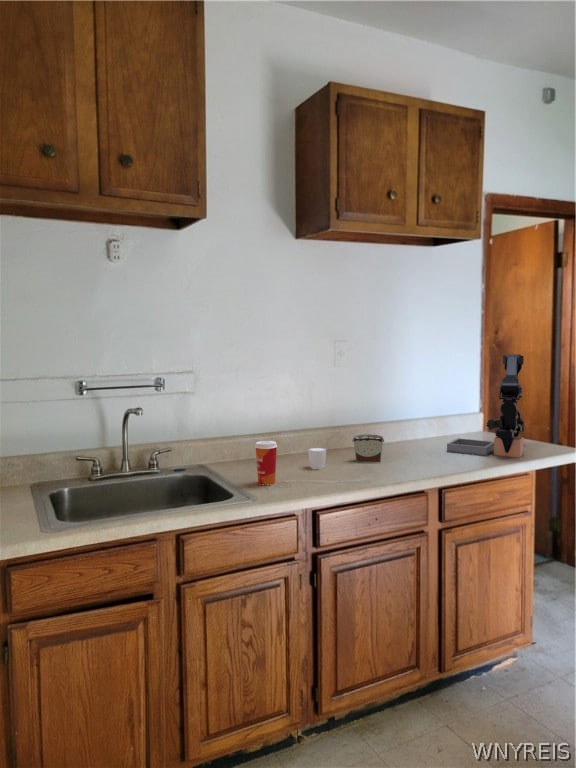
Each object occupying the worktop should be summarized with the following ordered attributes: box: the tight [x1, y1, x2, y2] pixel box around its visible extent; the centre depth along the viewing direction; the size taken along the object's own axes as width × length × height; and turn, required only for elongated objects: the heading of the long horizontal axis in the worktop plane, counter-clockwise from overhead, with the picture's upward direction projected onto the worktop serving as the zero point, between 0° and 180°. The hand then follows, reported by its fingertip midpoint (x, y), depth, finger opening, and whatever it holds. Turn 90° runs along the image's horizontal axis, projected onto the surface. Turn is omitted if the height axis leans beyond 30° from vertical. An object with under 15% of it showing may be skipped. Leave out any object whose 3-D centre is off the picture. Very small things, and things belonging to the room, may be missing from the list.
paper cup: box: [254, 440, 278, 485], centre depth 193 cm, size 8×8×14 cm
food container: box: [352, 433, 385, 463], centre depth 225 cm, size 12×6×10 cm, turn 84°
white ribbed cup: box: [307, 447, 327, 470], centre depth 215 cm, size 7×7×7 cm
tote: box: [493, 436, 525, 459], centre depth 232 cm, size 6×10×7 cm, turn 56°
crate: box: [446, 437, 494, 457], centre depth 240 cm, size 14×16×4 cm
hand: (508, 451), depth 232 cm, fingers closed on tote, 6 cm apart
